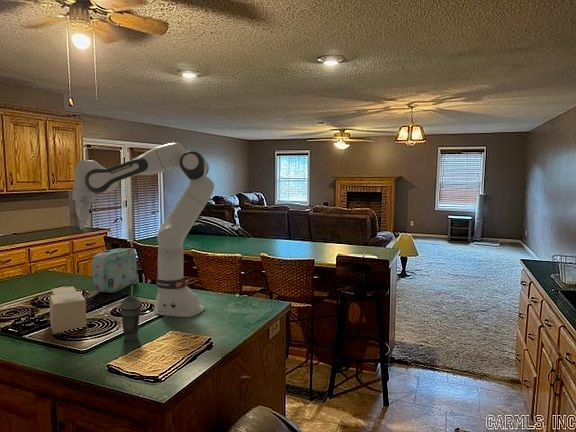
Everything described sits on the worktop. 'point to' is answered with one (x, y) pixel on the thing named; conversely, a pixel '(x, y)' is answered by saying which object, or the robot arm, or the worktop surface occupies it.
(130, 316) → the beverage cup
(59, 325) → the mailer box
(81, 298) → the lid
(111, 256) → the lunch box
